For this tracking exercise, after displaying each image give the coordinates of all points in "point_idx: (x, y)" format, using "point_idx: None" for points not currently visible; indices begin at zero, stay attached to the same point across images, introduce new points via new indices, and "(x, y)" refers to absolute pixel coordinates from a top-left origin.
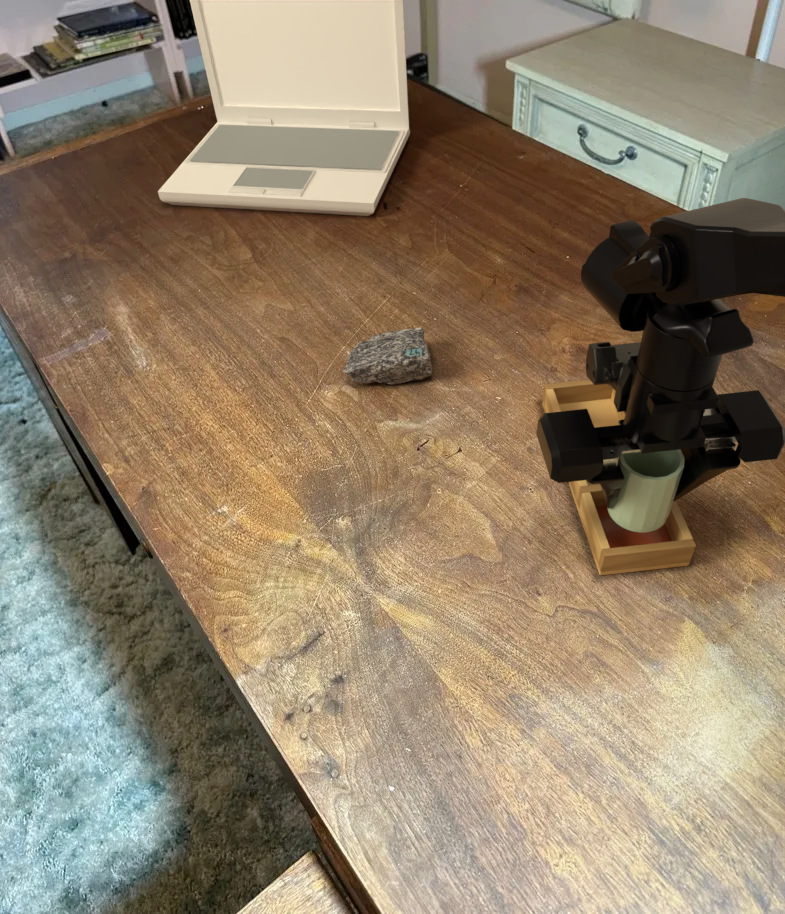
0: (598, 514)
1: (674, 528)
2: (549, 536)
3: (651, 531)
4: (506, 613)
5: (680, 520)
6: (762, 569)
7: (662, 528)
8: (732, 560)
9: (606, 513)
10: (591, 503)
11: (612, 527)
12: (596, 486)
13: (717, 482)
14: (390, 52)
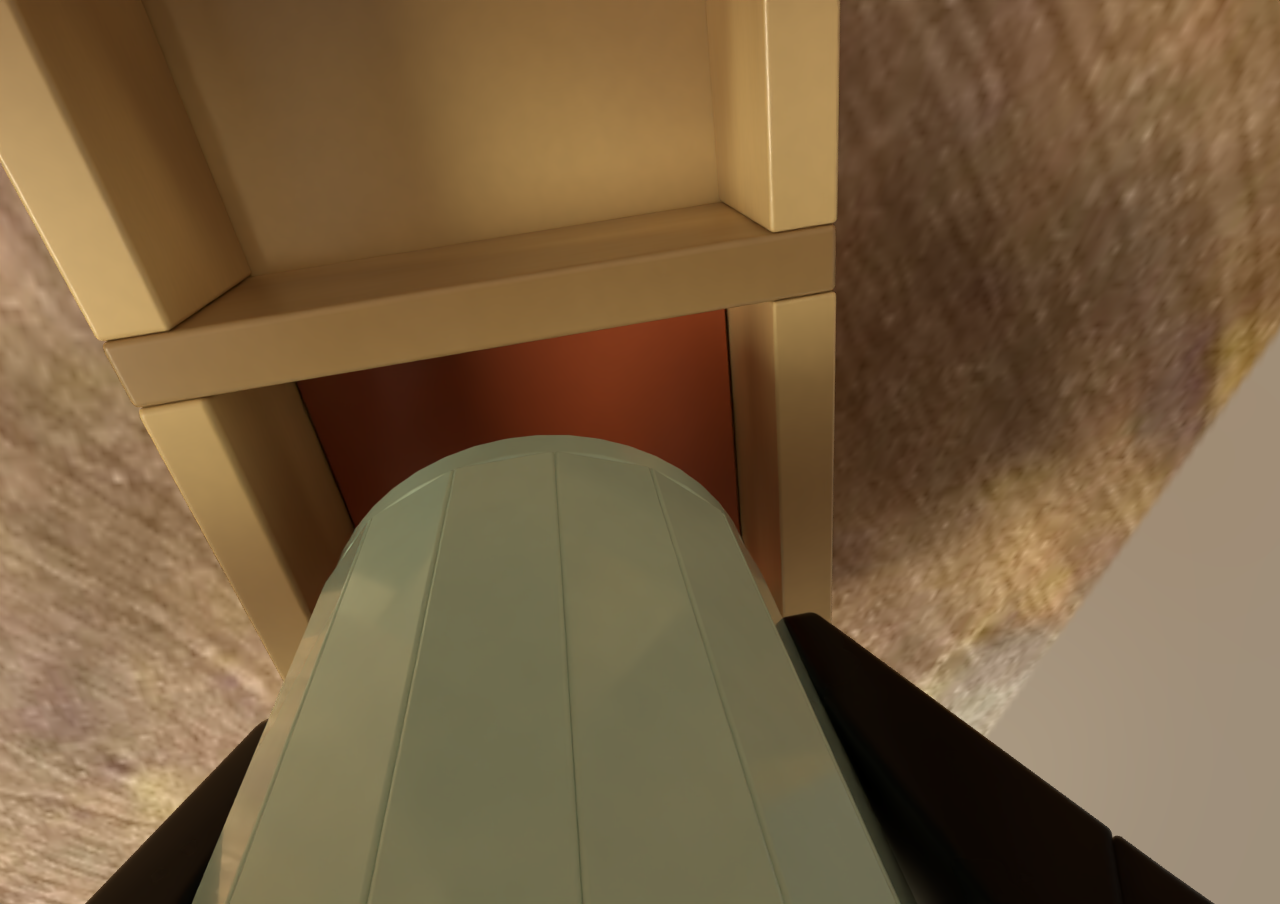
0: (353, 388)
1: (764, 562)
2: (87, 500)
3: None
4: (5, 845)
5: (808, 589)
6: (1046, 585)
7: (713, 464)
8: (958, 558)
9: (404, 380)
10: (232, 508)
11: None
12: (252, 341)
13: (1160, 49)
14: None
